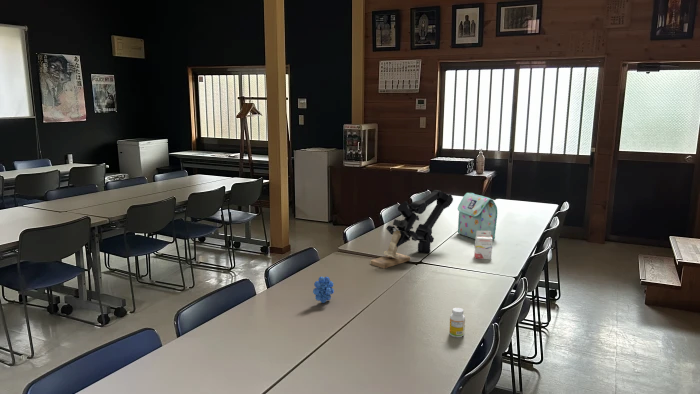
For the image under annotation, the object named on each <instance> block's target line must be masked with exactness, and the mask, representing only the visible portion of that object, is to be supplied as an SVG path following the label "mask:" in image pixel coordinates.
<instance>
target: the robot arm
mask: <svg viewBox="0 0 700 394" xmlns="http://www.w3.org/2000/svg"><path fill="white" fill-rule="evenodd" d="M435 202H436V205H435V206H434V207H433V210H432V211H431V213H430V214H429V215H428V217H427V219H426V220H425V221H424V223H423V224H422V223H419V225H418V226H417V227H416V230H415V231H414V230H413V229H414V227H413V226H414V224H415V222H416V221H420V217H419V215H422V214H423V213H424V212H425V211H426V210H427V207H428V206H430V205H432V204H433V203H435ZM453 202H454V198H453V196H452V194H447V193H445V192H443V191H441V190H437V189H434V190H433V191H432V192H430V193H429V194H428V195H426V196H425V197H423V198H421V199H420V200H414V201H412V202H411V203H410V204H409V202H408V201H404V202H401V204H399V205H398V206H397V211H398V212H399V214H401V216H402V218H403V219H401V220H399V219H393V222H392V225H390V224H389V225H386V226H387V227H386V228H385V229H386V230H387V232H388V233H389V234H390V235H391V236H392V235H393V232H396V230H397V231H400V234H401V237H400V239H399V241H398V243H397V245H396V247H398V248H399V247H400V246H402V245H403V244H404V243H407V242H408V241H414V242H417V241H418V243H417V251H418V252H417V253H420V254H431V244H432V243H433V242H434V240H435V238H434V236H433V235H432V234H433V227H434V226H435V224H436V223H437V221H438V219H439V218H440V216H441V215H442V213H443V211H444V210H445V209H447V208H449V207H450V206H451V204H452V203H453ZM417 214H418V215H417Z"/></svg>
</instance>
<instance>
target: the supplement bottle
mask: <svg viewBox="0 0 700 394" xmlns="http://www.w3.org/2000/svg"><path fill="white" fill-rule="evenodd" d="M451 311H452V313H451V314H450V315H449V335H450V337H452V338H463V337H464V336H465V327H466V325H465V323H466V316H465V315H464V308H461V307H453V308H452V310H451ZM462 336H463V337H462Z"/></svg>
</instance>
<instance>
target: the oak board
mask: <svg viewBox="0 0 700 394" xmlns="http://www.w3.org/2000/svg"><path fill="white" fill-rule="evenodd" d="M396 254H398V255H399V256H398V258H394V257H391V256H388V255H384V256H380V257H377V258H373V259H371V260H370V265H372V266H375V267H378V268H381V269H388V268H390V267H393V266H397V265H400V264H403V263H406V262H409V260H410V261H411V256H409V255H406V254H403V253H402V254H401V253H398V252H396Z"/></svg>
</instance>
